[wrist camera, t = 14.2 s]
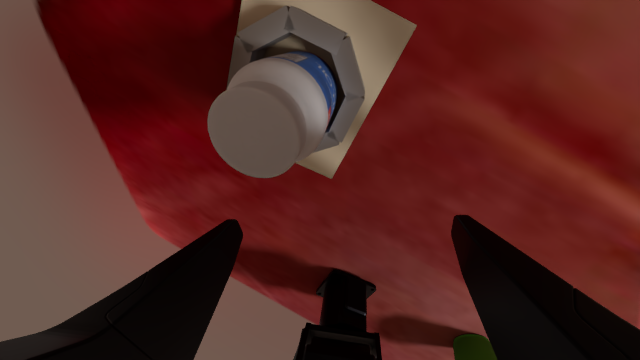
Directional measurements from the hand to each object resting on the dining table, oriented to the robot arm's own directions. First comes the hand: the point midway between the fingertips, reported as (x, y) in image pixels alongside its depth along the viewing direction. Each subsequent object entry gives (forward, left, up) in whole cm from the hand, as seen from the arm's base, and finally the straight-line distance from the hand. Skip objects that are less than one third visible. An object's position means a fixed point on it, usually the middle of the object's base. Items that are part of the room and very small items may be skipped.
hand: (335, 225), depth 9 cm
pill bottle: (+1, +5, -11) cm, 12 cm away
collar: (+1, +5, -12) cm, 13 cm away
